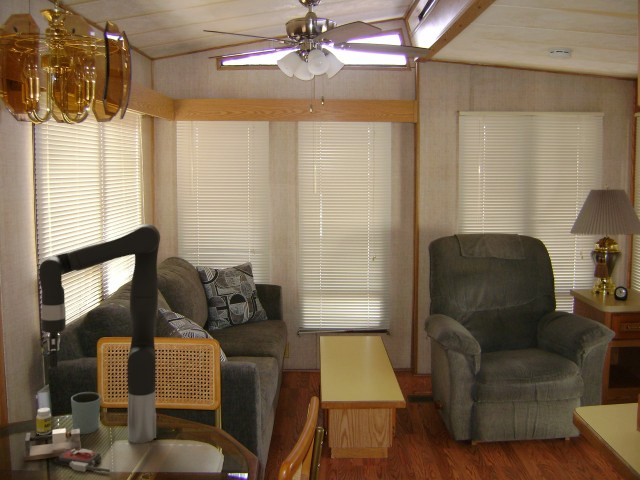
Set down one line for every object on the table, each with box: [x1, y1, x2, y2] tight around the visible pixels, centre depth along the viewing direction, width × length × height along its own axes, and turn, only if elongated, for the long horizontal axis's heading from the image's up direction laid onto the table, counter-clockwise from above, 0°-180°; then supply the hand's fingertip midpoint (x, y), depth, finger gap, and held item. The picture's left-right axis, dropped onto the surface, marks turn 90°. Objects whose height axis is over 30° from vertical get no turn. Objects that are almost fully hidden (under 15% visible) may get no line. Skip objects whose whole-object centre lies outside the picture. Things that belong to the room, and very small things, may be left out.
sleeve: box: [51, 427, 67, 444], centre depth 207 cm, size 4×3×3 cm
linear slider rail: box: [23, 428, 82, 462], centre depth 207 cm, size 17×7×7 cm, turn 111°
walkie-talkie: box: [54, 448, 111, 473], centre depth 200 cm, size 9×4×20 cm
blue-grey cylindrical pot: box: [70, 391, 102, 435], centre depth 225 cm, size 10×10×12 cm
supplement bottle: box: [35, 407, 52, 436], centre depth 221 cm, size 5×5×8 cm
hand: (54, 363), depth 211 cm, fingers open, 8 cm apart
